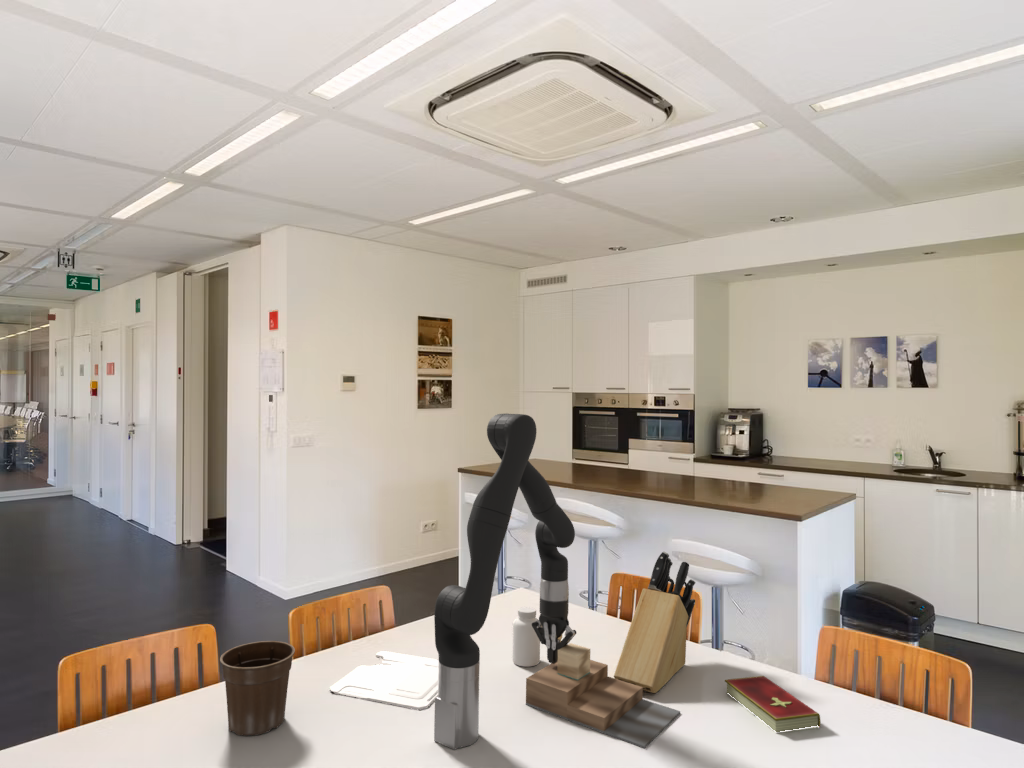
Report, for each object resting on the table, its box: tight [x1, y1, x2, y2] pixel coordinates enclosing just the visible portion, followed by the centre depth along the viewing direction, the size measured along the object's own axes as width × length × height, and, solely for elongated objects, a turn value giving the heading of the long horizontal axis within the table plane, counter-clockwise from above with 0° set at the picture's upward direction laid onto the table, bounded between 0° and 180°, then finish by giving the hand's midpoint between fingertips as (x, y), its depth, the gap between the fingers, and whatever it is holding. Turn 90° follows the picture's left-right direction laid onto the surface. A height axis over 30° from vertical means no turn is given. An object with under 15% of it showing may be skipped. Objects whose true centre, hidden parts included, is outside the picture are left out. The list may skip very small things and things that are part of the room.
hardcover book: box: [724, 675, 821, 732], centre depth 161 cm, size 12×21×4 cm, turn 14°
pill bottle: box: [511, 606, 541, 668], centre depth 188 cm, size 8×8×15 cm
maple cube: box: [557, 642, 591, 680], centre depth 165 cm, size 6×6×6 cm
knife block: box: [613, 551, 696, 694], centre depth 183 cm, size 11×35×31 cm, turn 146°
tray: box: [328, 650, 439, 711], centre depth 176 cm, size 28×28×2 cm
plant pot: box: [219, 640, 296, 737], centre depth 151 cm, size 16×16×16 cm
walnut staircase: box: [525, 659, 681, 749], centre depth 160 cm, size 20×32×6 cm, turn 53°
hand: (553, 662), depth 169 cm, fingers closed
